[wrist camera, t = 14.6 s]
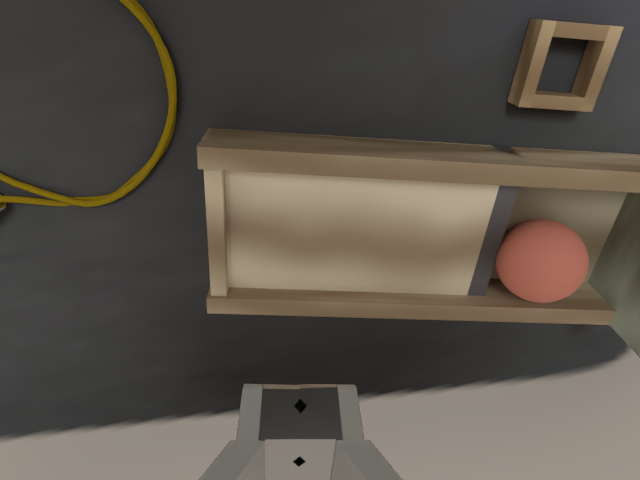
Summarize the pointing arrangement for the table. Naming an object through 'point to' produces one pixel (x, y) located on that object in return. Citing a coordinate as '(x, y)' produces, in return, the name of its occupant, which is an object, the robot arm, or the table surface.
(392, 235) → the tray
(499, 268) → the ball
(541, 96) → the hollow square frame
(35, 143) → the table surface
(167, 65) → the extension cord
